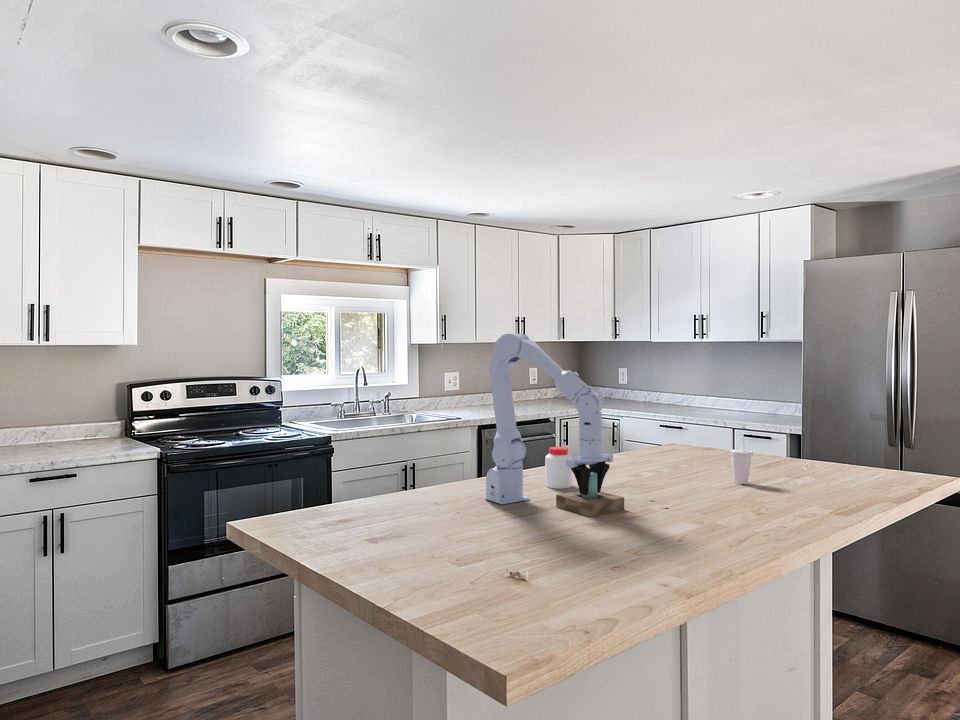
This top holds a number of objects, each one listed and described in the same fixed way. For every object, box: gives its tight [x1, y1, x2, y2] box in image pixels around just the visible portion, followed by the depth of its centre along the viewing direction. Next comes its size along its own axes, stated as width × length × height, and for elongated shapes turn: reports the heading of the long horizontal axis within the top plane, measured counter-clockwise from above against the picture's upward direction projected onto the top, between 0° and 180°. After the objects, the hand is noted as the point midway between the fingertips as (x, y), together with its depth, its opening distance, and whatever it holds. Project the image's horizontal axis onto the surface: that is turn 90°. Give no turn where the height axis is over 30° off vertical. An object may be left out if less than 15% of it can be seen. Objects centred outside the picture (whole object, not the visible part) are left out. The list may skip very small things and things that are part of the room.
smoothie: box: [729, 435, 754, 486], centre depth 198 cm, size 6×6×14 cm
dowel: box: [581, 472, 598, 500], centre depth 169 cm, size 4×4×7 cm
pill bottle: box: [544, 446, 573, 490], centre depth 195 cm, size 8×8×11 cm
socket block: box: [555, 490, 625, 517], centre depth 169 cm, size 12×12×3 cm
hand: (589, 492), depth 169 cm, fingers closed on dowel, 4 cm apart
